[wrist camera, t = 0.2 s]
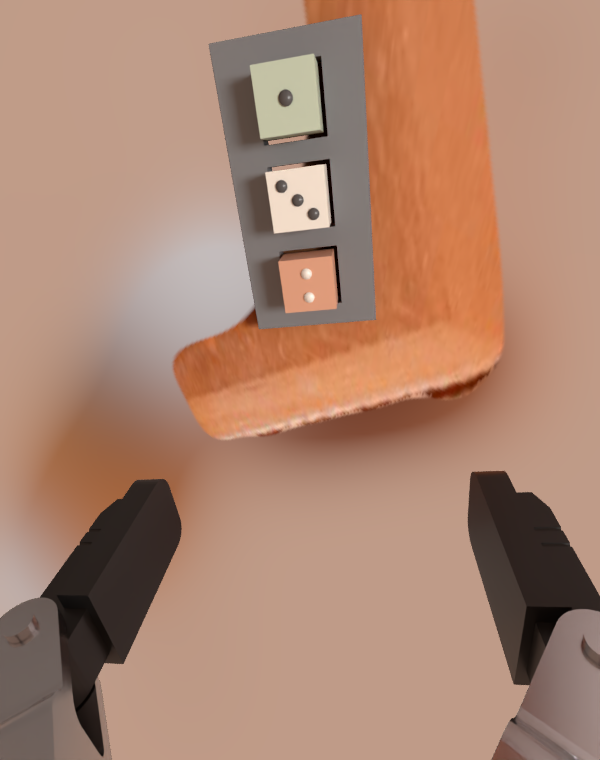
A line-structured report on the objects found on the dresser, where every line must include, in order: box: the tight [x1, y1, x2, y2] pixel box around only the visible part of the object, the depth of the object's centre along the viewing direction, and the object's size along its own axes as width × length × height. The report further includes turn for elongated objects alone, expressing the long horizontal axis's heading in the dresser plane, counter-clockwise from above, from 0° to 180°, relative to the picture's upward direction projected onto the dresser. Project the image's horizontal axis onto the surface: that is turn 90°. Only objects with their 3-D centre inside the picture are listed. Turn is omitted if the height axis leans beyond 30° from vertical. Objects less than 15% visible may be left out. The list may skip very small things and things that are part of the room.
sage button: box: [250, 54, 324, 141], centre depth 28 cm, size 4×4×3 cm
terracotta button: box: [278, 248, 338, 313], centre depth 33 cm, size 4×4×3 cm
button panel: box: [209, 15, 376, 329], centre depth 33 cm, size 20×10×2 cm, turn 7°
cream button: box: [265, 164, 331, 234], centre depth 31 cm, size 4×4×3 cm
